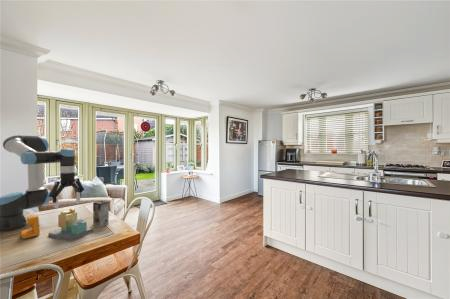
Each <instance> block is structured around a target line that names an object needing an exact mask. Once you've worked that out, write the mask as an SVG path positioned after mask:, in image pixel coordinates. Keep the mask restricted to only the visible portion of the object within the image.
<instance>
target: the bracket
mask: <svg viewBox="0 0 450 299" xmlns="http://www.w3.org/2000/svg"><path fill="white" fill-rule="evenodd" d="M26 221H27V227H29V226H31V228H28V229H24V230H21V238H22V239H28V238H33V237H36V236H40V235H41V234H40V221H39V215H38V214H37V215H32V216H27V219H26Z"/></svg>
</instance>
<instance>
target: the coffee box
mask: <svg viewBox="0 0 450 299" xmlns="http://www.w3.org/2000/svg"><path fill="white" fill-rule="evenodd" d="M92 205H93V206H92V208H93V210H92V211H93V213H92V215H93V217H92V218H93V220H92V221H93V225H95V226H97V227H103V226H106V225H108V224H109V206H110V205H109V202H108V201H104V200H98V201H95V202H93V203H92Z"/></svg>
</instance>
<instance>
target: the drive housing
mask: <svg viewBox="0 0 450 299" xmlns="http://www.w3.org/2000/svg"><path fill="white" fill-rule="evenodd" d="M87 222H88V221H85V219H84V217H83V218H82V217H81V218H80V219H77V221H75V222H73V224H71V227H68V228H62V227H60V228H58V229H56V230H53V231H51V232H48V237H50V238H56V239H60V240H65V241H70V242H71V241H72V242H73V241H74V240H76V239H79V238H81V237H84V236H85V235H88V234H90V233H92V232H93V231H94V228H93V227H88V225H87Z"/></svg>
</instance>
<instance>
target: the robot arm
mask: <svg viewBox="0 0 450 299" xmlns="http://www.w3.org/2000/svg"><path fill="white" fill-rule="evenodd" d="M2 147H3V148H4V150H5V151H7V152H9V153H13V154H15V155H17V156H18V157H20V163H21V164H23V165H27V180H28V181H27V184H28V188H27V189H26V190H25V193H23V192H22V191H18V192H9V193H8V194H4V195H1V196H0V232H10V231H13V230H18V229H21V228H23V227H25V226H28V223H27V219H26V217H25V215H24V210H29V209H34V208H39V207H44V206H47V205H48V204H49V203H50V201H51V200H52V204H53V208H55V209H58V208H59V195H60V193H61V192H62V191H63V190H64V189H65V188H67V187H72V188H73V189H74V190H75V191H76V193H75V199H76V201H75V202H76V203H80V202H81V197H82V193H83V191H85V188H84V187H83V185H82V183H81V181H80V178H78V177H76V172H75V171H76V168H75V167H76V165H75V164H76V153H75V149H74V148H61V149H60V150H54V151H49V148H50V144H49V142H48V139H47V138H46V136H43V135H42V136H40V135H20V134H18V135H12V136H10V137H8V138H6V139H4V140H3V142H2ZM57 163H58V164H59V171H60V174H59V179H60V180H59V181H58V180H56V181H54V183H53V187H52V188H51V191H50V190H49V189H48V188H47V187H46V186H45V176H44V174H45V172H44V164H57Z"/></svg>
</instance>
